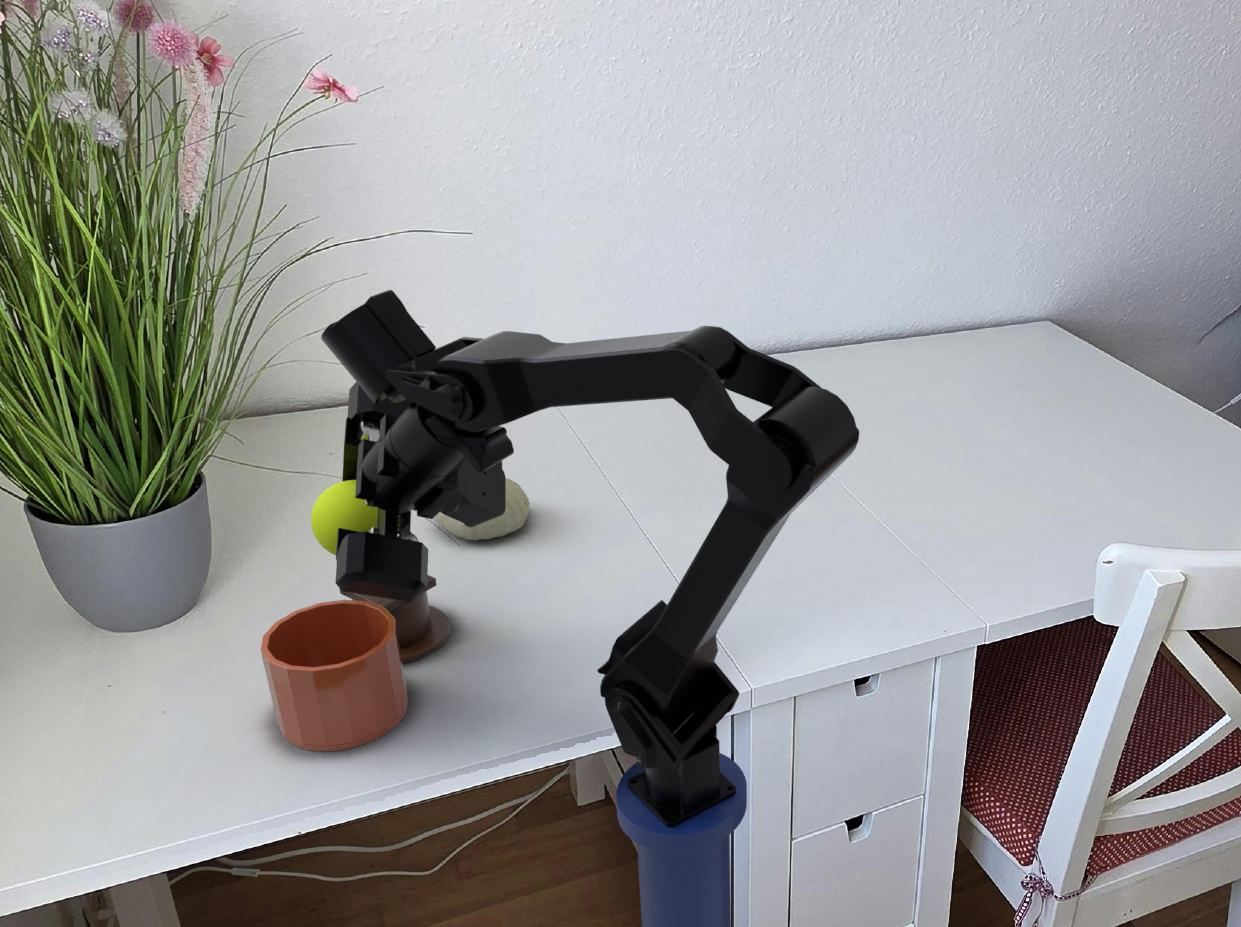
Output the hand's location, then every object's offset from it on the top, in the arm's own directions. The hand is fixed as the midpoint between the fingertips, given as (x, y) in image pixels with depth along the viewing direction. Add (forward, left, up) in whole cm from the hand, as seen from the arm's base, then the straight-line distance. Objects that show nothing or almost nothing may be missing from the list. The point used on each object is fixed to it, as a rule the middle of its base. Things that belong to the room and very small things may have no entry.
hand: (345, 529), depth 103 cm
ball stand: (+1, -3, -12) cm, 13 cm away
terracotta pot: (-7, +5, -12) cm, 15 cm away
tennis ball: (-1, -1, +1) cm, 2 cm away
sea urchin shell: (+15, -18, -13) cm, 26 cm away
